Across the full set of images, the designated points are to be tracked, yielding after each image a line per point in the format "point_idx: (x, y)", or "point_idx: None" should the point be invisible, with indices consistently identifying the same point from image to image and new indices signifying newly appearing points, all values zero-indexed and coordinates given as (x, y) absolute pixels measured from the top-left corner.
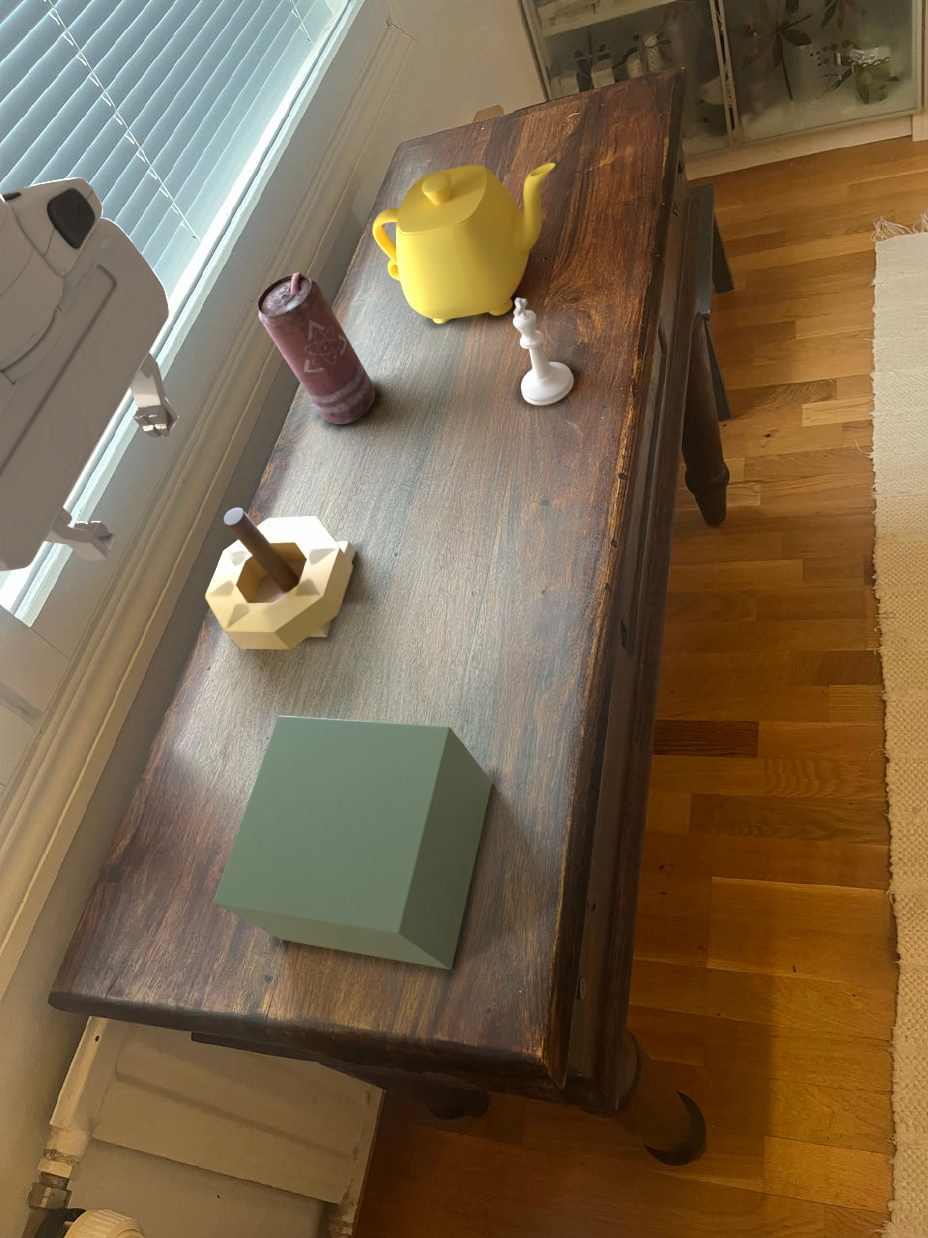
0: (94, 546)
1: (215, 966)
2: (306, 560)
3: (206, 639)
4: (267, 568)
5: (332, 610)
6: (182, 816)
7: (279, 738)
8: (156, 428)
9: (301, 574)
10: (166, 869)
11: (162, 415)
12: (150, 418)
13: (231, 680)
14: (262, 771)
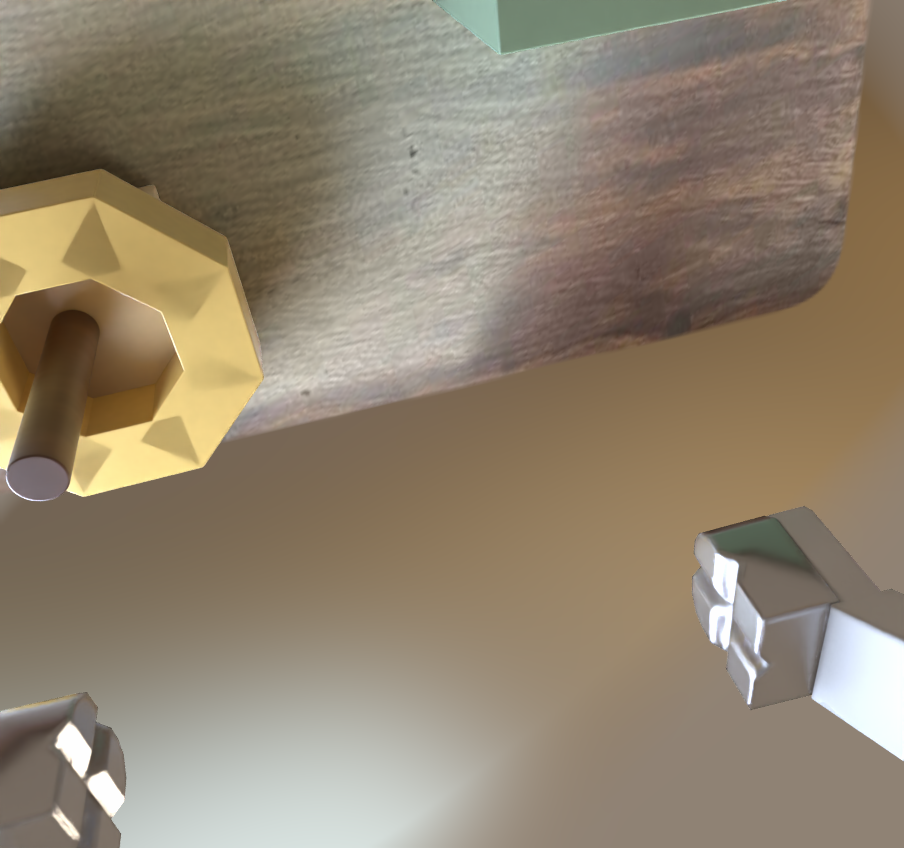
0: (854, 564)
1: (804, 55)
2: (3, 323)
3: (252, 433)
4: (87, 369)
5: (103, 177)
6: (576, 271)
7: (555, 16)
8: (88, 761)
9: (42, 315)
10: (663, 244)
11: (25, 784)
12: (80, 819)
13: (315, 336)
14: (637, 17)
